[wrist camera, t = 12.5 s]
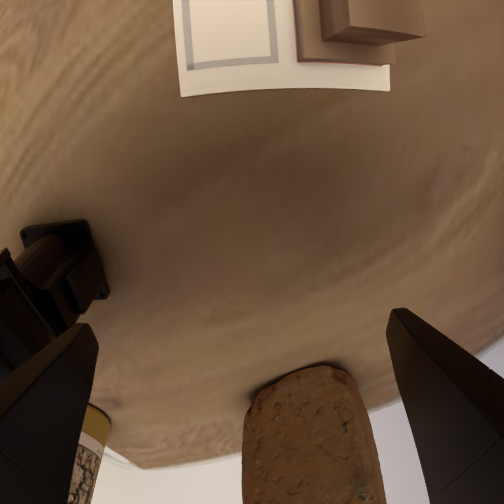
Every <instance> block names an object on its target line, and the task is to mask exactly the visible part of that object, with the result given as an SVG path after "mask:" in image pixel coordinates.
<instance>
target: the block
mask: <svg viewBox="0 0 504 504" xmlns="http://www.w3.org/2000/svg"><path fill="white" fill-rule="evenodd" d="M242 498H243V499H242V500H243V504H387V503H386V497H385V491H384V485H383V480H382V474H381V470H380V463H379V459H378V453H377V448H376V444H375V441H374V438H373V431H372V427H371V423H370V419H369V416H368V413H367V410H366V408H365V405H364V403H363V400H362V398H361V396H360V394H359V392H358V390H357V387H356V385H355V384H354V382H353V380H352V378H351V377H350V376H349V375H348V374H347V373H346V372H344V371H343V370H336V369H334V368H332V367H330V366H318V367H311V368H306V369H303V370H300V371H296V372H294V373H291V374H289V375H287V376H286V377H284V378H282V379H281V380H280V381H279V382H277V384H272V385H270V386H268V387H267V388H265V389H263V390H261V391H260V393H259V394H258V396H257V397H256V399H255V400H254V401H253V402H252V405H251V407H250V408H249V410H248V411H247V413H246V415H245V420H244V427H243V442H242Z"/></svg>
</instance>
